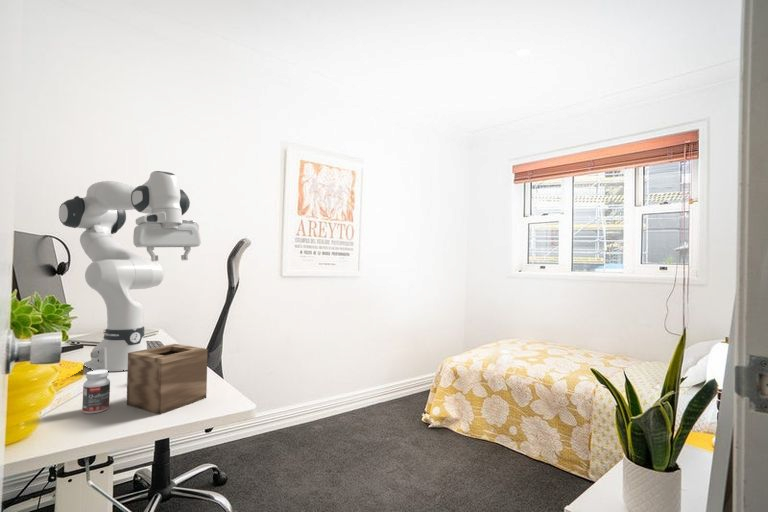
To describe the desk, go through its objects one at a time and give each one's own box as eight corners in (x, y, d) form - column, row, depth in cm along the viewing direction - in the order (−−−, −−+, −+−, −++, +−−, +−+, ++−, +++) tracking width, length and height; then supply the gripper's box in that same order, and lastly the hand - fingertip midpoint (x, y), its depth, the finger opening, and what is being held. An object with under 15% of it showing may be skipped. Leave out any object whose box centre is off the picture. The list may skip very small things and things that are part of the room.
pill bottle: (88, 416, 100) (89, 376, 101) (78, 411, 103) (79, 372, 104) (113, 409, 105) (114, 371, 105) (103, 404, 108) (104, 367, 108)
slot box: (126, 404, 108) (128, 352, 109) (173, 390, 121) (174, 343, 121) (160, 414, 102) (161, 359, 103) (206, 398, 115) (207, 349, 115)
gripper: (193, 222, 144) (196, 260, 143) (129, 219, 128) (132, 262, 127) (202, 219, 140) (205, 258, 139) (137, 216, 124) (140, 260, 123)
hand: (170, 260), depth 133 cm, fingers open, 8 cm apart
